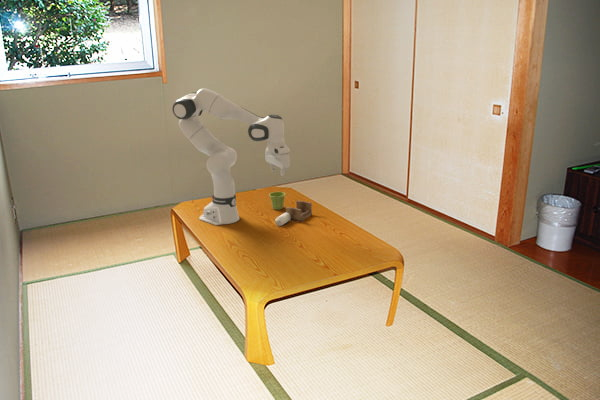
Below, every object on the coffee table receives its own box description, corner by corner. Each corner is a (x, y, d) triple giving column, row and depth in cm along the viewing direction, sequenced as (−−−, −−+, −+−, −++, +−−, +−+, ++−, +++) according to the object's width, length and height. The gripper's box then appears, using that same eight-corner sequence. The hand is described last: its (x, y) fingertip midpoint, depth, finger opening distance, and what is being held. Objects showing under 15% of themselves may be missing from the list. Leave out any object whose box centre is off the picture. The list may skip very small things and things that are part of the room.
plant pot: (267, 207, 309) (266, 193, 306) (282, 204, 313) (281, 190, 310) (273, 212, 301) (272, 197, 298) (288, 209, 305) (288, 195, 302)
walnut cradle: (286, 219, 290) (285, 207, 287) (297, 212, 300) (297, 200, 298) (300, 222, 285) (300, 210, 283) (311, 214, 296) (311, 202, 294)
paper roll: (283, 227, 280) (283, 218, 278) (275, 225, 282) (274, 216, 280) (291, 221, 287) (291, 213, 285) (283, 220, 289) (283, 211, 287)
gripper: (261, 144, 274) (263, 170, 279) (280, 151, 257) (281, 179, 262) (272, 142, 277) (273, 168, 282) (291, 149, 260) (292, 176, 265)
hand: (277, 173), depth 272 cm, fingers open, 8 cm apart
